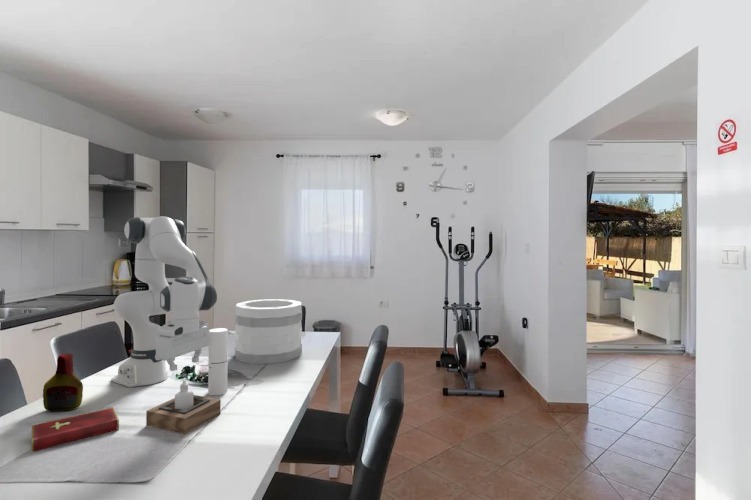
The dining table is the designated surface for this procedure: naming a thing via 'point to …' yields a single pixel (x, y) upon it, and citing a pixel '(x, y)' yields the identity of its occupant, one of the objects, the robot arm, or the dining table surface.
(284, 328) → the storage basket
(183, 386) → the eye dropper bottle
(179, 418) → the socket block
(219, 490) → the dining table surface
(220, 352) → the cylindrical container
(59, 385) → the bottle
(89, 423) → the hardcover book
